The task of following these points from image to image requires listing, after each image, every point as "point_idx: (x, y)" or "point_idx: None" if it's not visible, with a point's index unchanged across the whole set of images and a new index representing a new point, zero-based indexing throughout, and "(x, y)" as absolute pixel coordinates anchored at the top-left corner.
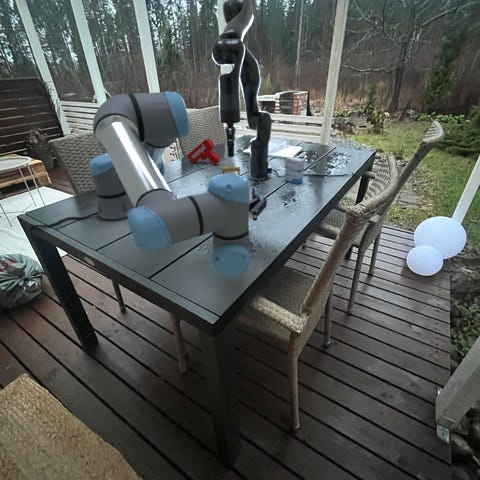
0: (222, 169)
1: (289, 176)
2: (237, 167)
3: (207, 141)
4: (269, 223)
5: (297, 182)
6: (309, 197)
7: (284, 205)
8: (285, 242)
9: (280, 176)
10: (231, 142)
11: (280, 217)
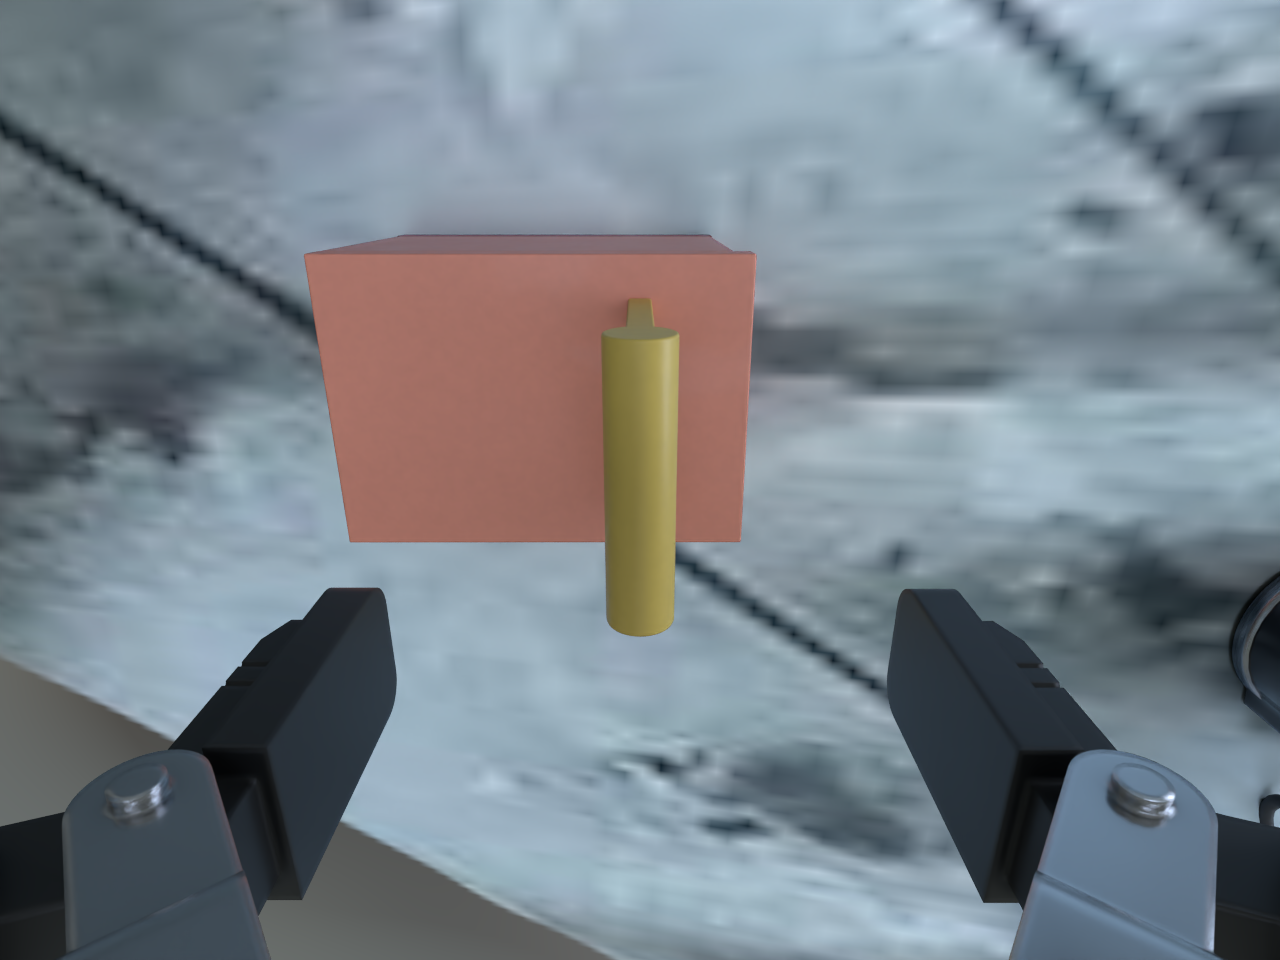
0: (601, 341)
1: None
2: (624, 599)
3: None
4: None
5: None
6: (773, 922)
7: (644, 756)
8: (96, 689)
9: (1267, 813)
10: (982, 822)
11: (441, 706)
